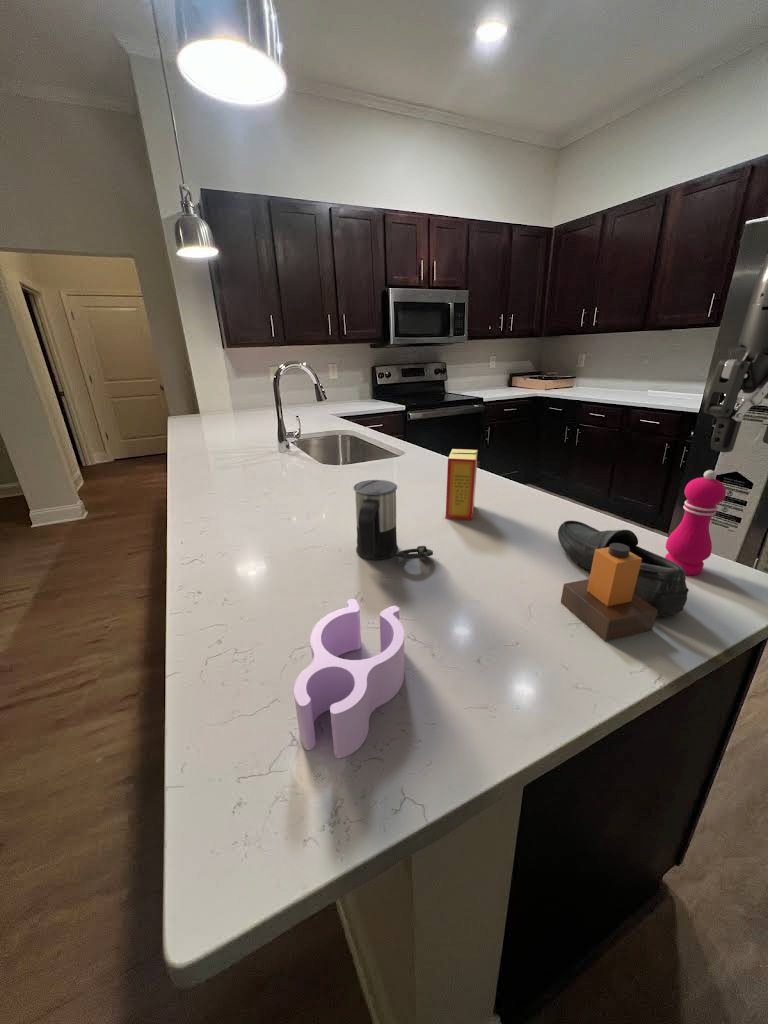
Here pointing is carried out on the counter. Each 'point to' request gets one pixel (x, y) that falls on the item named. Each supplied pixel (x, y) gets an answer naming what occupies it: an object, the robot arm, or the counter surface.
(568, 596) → the box
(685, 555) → the pepper mill
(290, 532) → the counter surface
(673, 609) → the loafer
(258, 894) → the counter surface
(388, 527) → the milk frother
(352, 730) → the clip
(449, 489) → the baking soda box
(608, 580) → the orange square bottle
